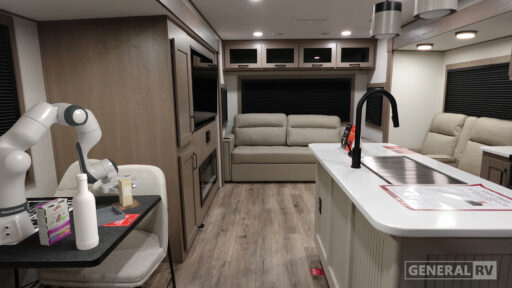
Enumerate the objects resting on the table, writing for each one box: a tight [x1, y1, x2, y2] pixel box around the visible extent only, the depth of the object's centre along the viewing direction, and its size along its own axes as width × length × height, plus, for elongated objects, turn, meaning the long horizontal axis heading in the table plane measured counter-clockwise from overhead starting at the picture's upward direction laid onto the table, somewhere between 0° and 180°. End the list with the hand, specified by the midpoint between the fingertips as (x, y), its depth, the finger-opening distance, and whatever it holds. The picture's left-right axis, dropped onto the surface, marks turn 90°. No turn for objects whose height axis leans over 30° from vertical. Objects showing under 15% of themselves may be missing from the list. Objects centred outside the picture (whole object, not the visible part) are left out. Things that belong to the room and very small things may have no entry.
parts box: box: [118, 178, 133, 207], centre depth 158 cm, size 5×5×14 cm
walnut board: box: [110, 198, 143, 212], centre depth 159 cm, size 12×12×1 cm
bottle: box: [71, 173, 100, 251], centre depth 115 cm, size 8×8×30 cm
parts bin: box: [96, 205, 126, 228], centre depth 142 cm, size 15×15×3 cm
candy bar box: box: [34, 197, 73, 247], centre depth 121 cm, size 11×5×16 cm, turn 168°
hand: (125, 188), depth 157 cm, fingers open, 8 cm apart
